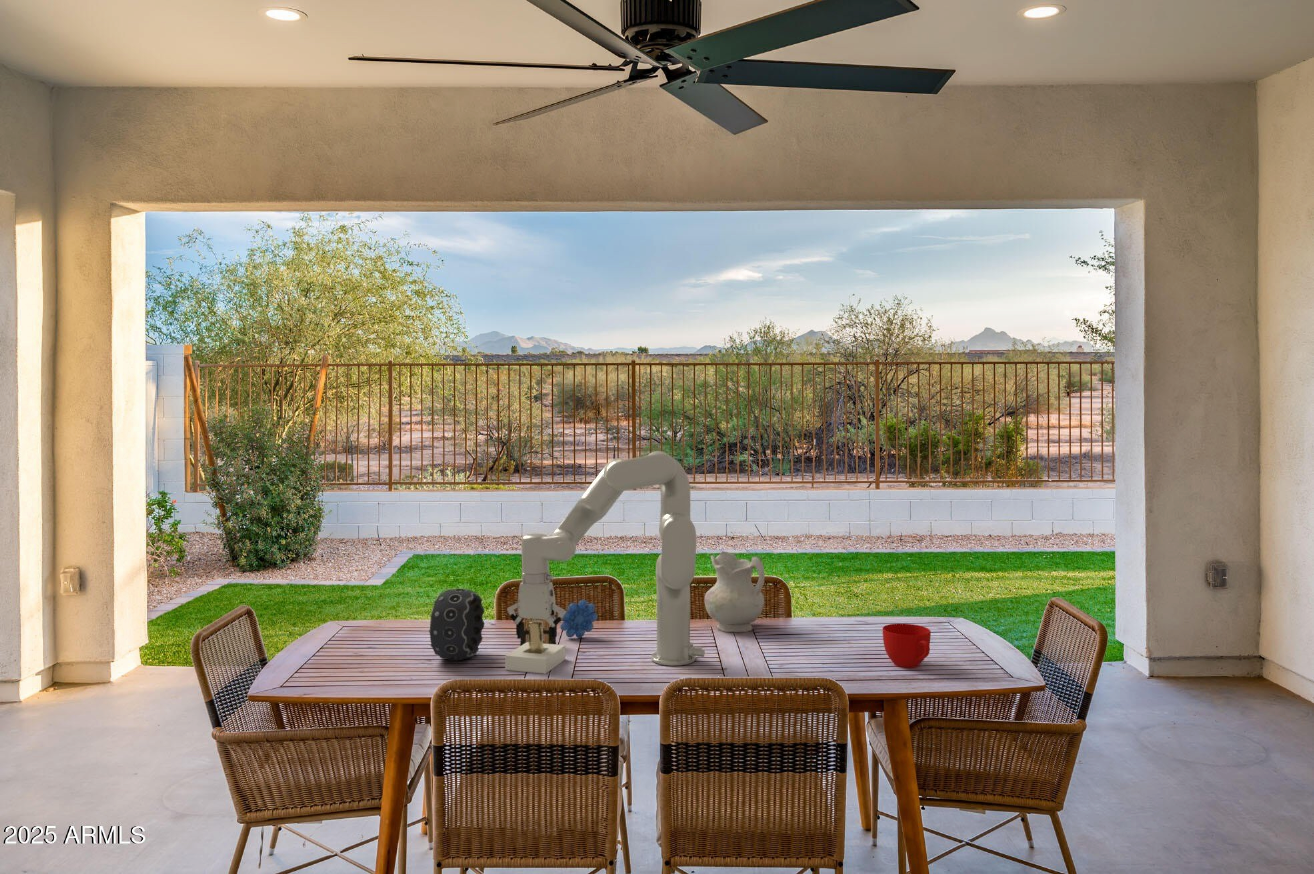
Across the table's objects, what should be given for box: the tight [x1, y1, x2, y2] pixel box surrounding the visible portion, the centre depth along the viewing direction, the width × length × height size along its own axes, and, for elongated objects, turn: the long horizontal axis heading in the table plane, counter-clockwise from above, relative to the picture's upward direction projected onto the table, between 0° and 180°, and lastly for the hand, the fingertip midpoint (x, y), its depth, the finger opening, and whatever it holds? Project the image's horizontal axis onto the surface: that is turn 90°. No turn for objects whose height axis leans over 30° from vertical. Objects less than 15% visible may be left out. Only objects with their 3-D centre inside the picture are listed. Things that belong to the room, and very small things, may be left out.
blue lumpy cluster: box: [560, 599, 598, 639], centre depth 269 cm, size 12×7×12 cm, turn 101°
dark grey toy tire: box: [428, 588, 485, 661], centre depth 246 cm, size 11×20×20 cm, turn 174°
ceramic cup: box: [882, 623, 932, 669], centre depth 238 cm, size 13×17×10 cm
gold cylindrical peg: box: [529, 619, 544, 654], centre depth 240 cm, size 4×4×12 cm
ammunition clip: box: [519, 614, 557, 647], centre depth 259 cm, size 11×2×12 cm, turn 92°
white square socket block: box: [504, 641, 566, 674], centre depth 240 cm, size 12×14×4 cm
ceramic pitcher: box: [704, 551, 765, 633], centre depth 279 cm, size 22×20×25 cm
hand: (536, 638), depth 240 cm, fingers open, 9 cm apart
